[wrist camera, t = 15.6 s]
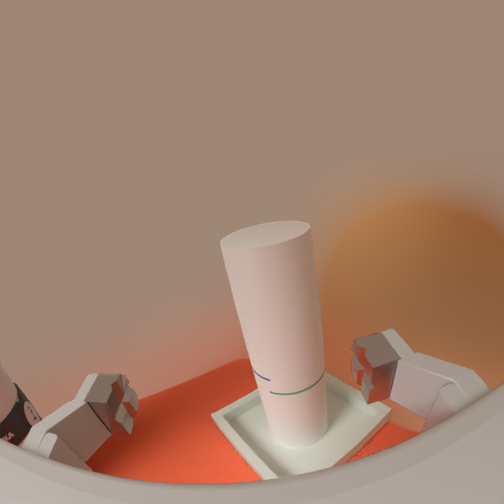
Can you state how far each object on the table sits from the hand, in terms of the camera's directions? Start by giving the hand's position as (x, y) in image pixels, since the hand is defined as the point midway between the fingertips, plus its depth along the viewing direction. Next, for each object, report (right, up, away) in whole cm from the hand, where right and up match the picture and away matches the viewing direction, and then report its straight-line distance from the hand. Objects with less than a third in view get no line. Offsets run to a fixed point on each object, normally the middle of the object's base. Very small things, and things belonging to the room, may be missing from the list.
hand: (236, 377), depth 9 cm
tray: (+7, -18, +21) cm, 28 cm away
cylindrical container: (+6, -18, +20) cm, 28 cm away
